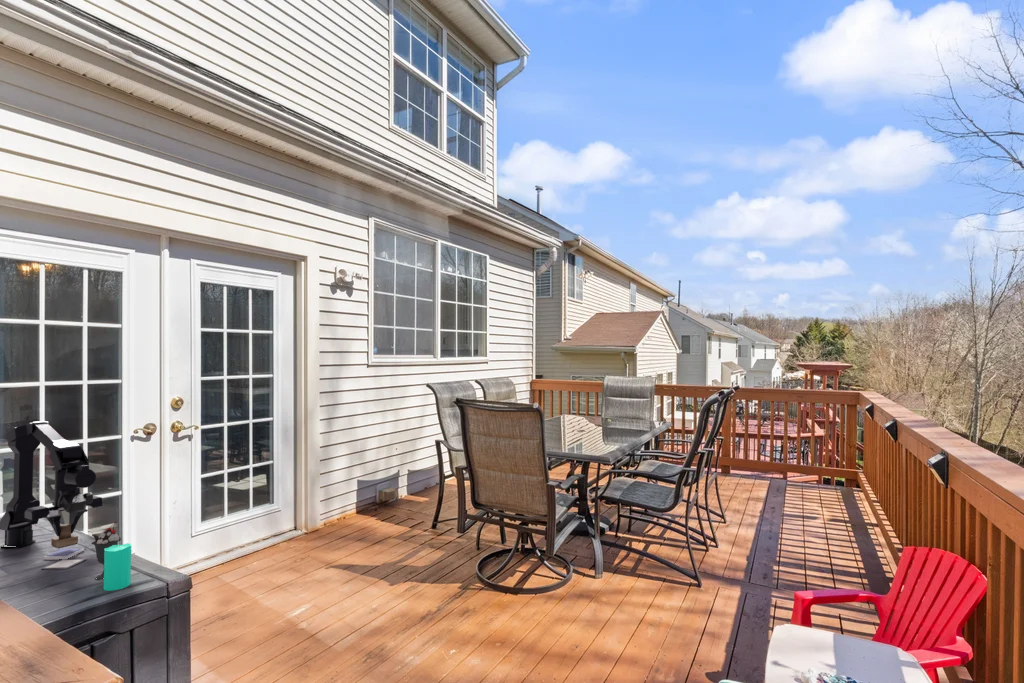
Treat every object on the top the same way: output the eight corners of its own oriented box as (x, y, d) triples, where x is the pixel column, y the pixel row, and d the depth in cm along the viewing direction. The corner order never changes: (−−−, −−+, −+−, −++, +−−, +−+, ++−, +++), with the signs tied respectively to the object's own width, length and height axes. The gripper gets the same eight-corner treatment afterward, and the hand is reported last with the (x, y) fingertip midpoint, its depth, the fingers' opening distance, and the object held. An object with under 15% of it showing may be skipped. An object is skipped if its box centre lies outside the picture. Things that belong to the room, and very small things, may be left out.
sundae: (126, 573, 154) (127, 520, 154) (101, 582, 147) (103, 527, 148) (110, 570, 156) (111, 518, 156) (85, 579, 149) (86, 525, 150)
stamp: (51, 546, 168) (51, 526, 168) (70, 541, 172) (71, 522, 173) (58, 548, 166) (59, 528, 166) (77, 543, 170) (78, 524, 170)
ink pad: (43, 559, 165) (43, 555, 165) (62, 551, 172) (62, 548, 172) (66, 559, 165) (66, 555, 165) (84, 551, 172) (84, 547, 172)
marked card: (41, 569, 157) (41, 568, 157) (62, 560, 165) (62, 559, 165) (67, 569, 157) (67, 568, 157) (86, 559, 165) (86, 558, 165)
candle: (136, 581, 147) (137, 537, 148) (118, 591, 141) (119, 545, 142) (116, 581, 148) (117, 537, 148) (97, 590, 142) (98, 544, 142)
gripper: (41, 494, 158) (39, 547, 157) (112, 481, 174) (111, 530, 173) (24, 490, 163) (22, 541, 162) (95, 478, 179) (94, 525, 179)
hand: (64, 534), depth 169 cm, fingers closed on stamp, 3 cm apart
